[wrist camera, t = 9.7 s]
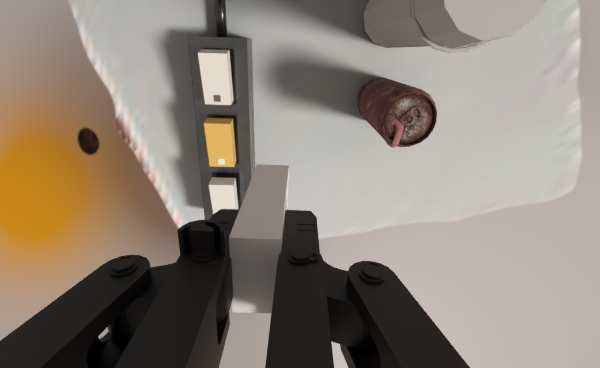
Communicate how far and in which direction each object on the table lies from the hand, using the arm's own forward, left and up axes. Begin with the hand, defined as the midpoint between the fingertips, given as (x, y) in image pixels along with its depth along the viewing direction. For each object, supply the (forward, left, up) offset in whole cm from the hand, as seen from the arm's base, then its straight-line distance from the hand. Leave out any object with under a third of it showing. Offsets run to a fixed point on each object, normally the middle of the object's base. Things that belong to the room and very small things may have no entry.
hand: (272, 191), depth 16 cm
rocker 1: (-3, -9, -27) cm, 28 cm away
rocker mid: (+5, -9, -27) cm, 28 cm away
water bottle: (-10, +13, -33) cm, 37 cm away
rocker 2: (+13, -9, -27) cm, 31 cm away
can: (0, +12, -33) cm, 35 cm away
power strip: (+2, -9, -32) cm, 34 cm away
